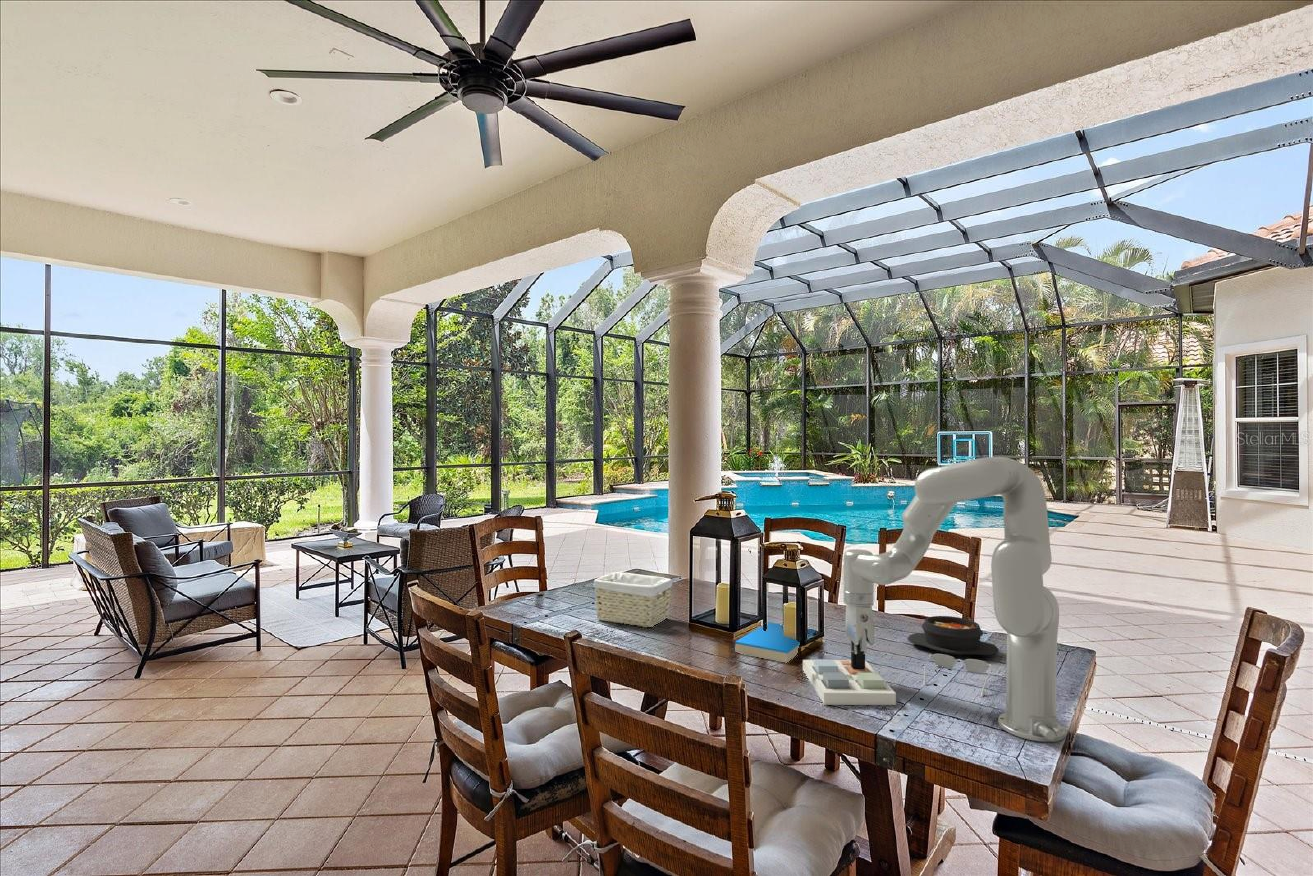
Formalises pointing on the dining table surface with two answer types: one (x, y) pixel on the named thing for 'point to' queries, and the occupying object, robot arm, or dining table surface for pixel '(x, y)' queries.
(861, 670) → the key terracotta
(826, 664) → the key blue
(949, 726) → the dining table surface
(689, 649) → the dining table surface
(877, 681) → the key sage
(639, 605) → the storage basket
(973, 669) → the eyeglasses
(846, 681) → the key slate
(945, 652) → the casserole
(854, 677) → the keypad
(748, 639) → the book
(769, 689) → the dining table surface
